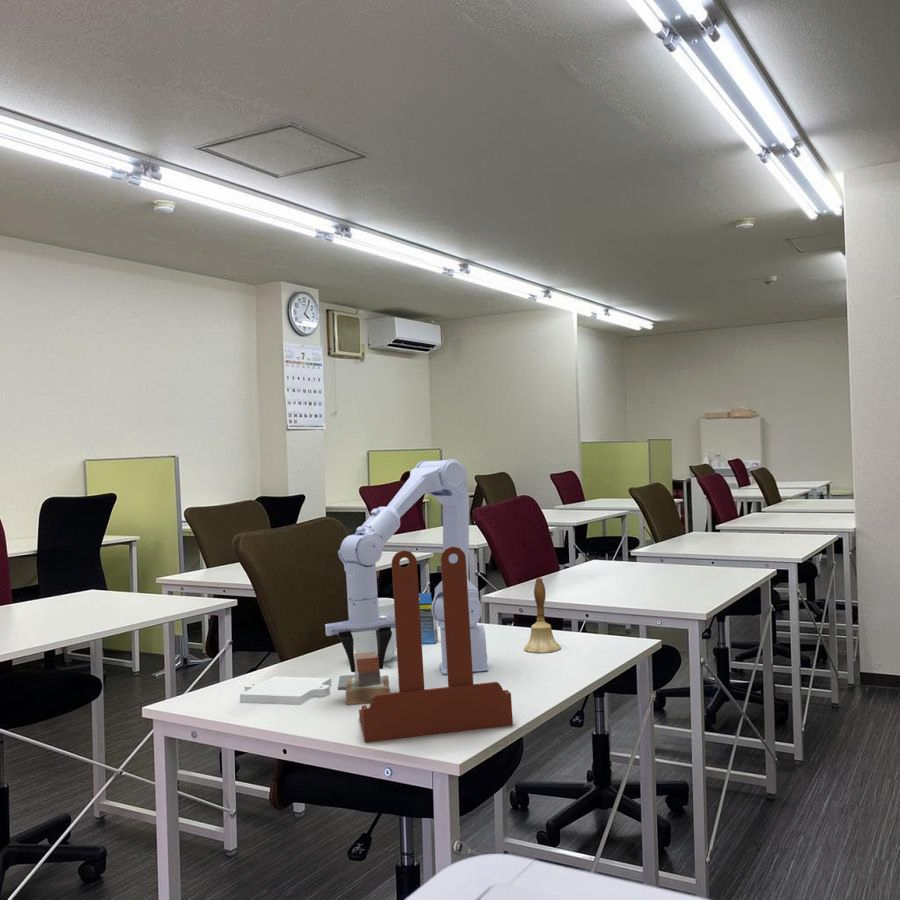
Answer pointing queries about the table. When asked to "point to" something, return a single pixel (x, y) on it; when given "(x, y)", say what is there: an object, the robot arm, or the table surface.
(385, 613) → the mug
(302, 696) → the mounting plate
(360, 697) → the stand
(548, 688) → the table surface
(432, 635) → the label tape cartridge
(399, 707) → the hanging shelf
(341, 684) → the mat
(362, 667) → the block
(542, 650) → the hand bell
